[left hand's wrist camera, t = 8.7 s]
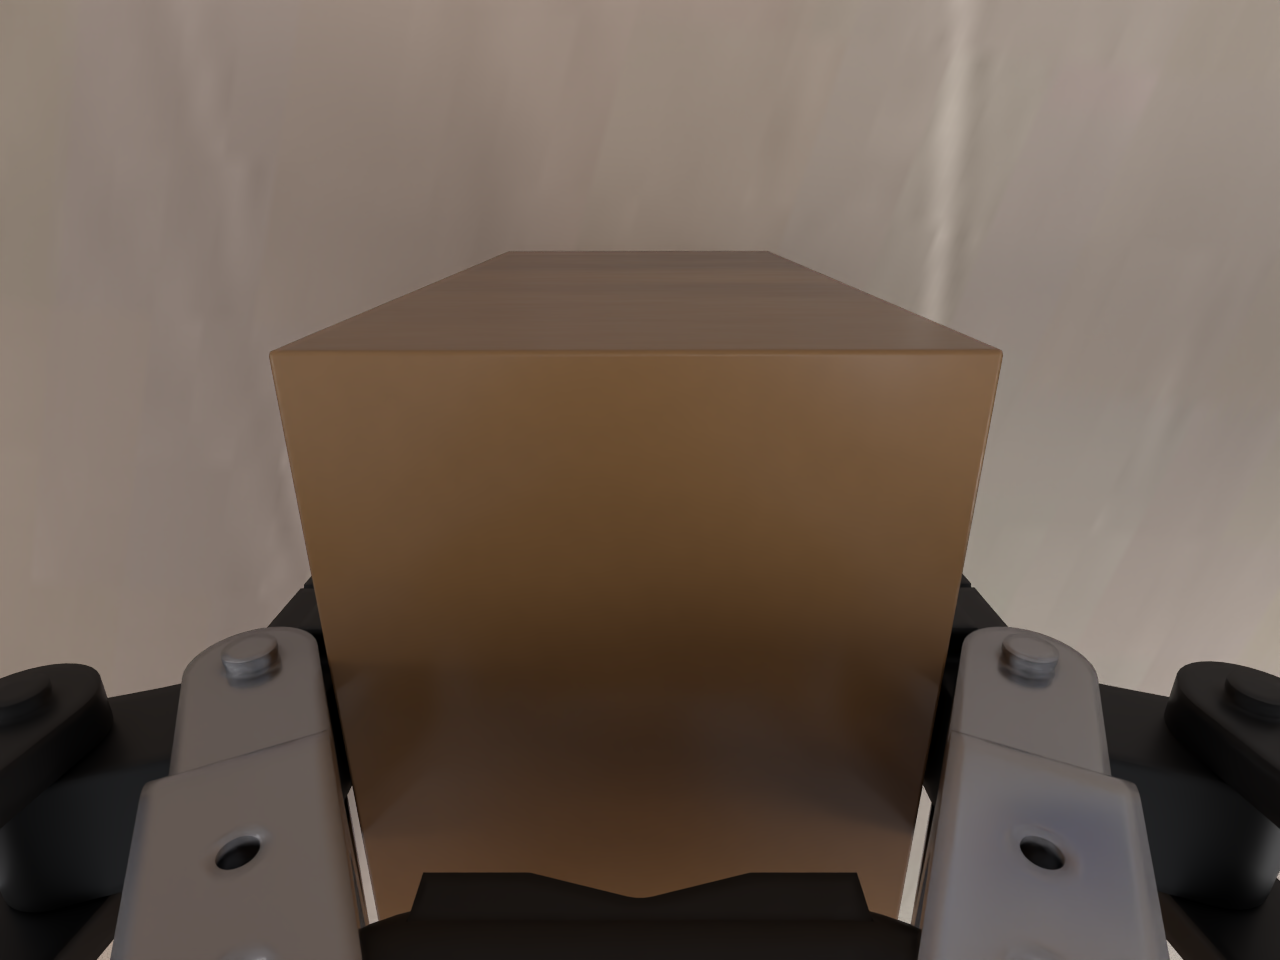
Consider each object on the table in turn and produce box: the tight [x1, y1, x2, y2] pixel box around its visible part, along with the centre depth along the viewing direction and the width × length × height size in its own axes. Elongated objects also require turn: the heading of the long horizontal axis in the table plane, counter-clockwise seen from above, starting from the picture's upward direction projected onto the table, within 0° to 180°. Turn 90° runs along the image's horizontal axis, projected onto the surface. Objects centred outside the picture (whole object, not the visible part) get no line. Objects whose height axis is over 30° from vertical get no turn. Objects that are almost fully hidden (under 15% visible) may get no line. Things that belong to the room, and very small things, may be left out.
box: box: [269, 251, 1003, 921], centre depth 16 cm, size 27×6×12 cm, turn 0°
